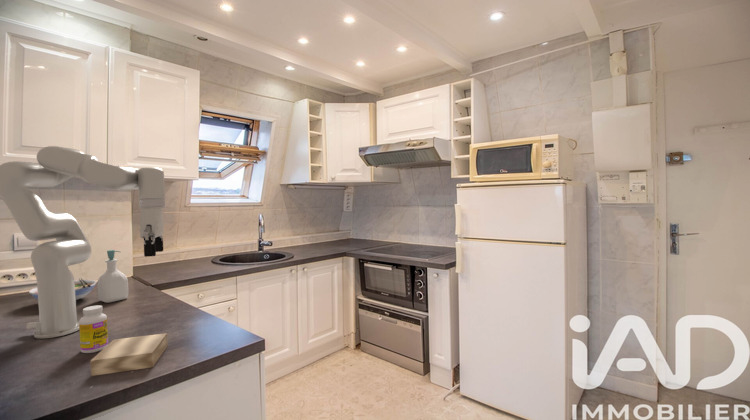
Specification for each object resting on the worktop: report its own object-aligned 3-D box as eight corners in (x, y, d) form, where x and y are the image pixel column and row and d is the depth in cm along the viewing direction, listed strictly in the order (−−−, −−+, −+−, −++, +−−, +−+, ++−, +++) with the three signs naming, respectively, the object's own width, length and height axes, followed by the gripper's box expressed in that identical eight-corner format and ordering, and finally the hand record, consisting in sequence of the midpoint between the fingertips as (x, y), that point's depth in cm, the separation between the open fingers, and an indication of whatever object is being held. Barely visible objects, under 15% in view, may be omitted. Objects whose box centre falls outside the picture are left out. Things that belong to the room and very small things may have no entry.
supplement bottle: (92, 354, 102) (90, 311, 102) (74, 353, 104) (72, 310, 103) (114, 345, 109) (111, 304, 108) (96, 343, 110) (94, 303, 110)
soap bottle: (130, 298, 160) (127, 249, 158) (105, 304, 151) (102, 252, 150) (121, 295, 165) (118, 247, 164) (96, 301, 157) (93, 251, 156)
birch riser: (91, 375, 90) (90, 360, 90) (114, 352, 104) (113, 339, 103) (152, 367, 94) (152, 352, 94) (167, 345, 108) (167, 333, 107)
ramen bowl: (29, 302, 157) (28, 284, 157) (94, 291, 173) (93, 275, 173) (29, 315, 139) (27, 295, 139) (101, 302, 155) (100, 283, 155)
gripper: (147, 203, 126) (149, 250, 127) (130, 205, 110) (133, 258, 110) (170, 203, 128) (172, 249, 129) (158, 204, 112) (160, 257, 113)
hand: (154, 253), depth 120 cm, fingers open, 9 cm apart
